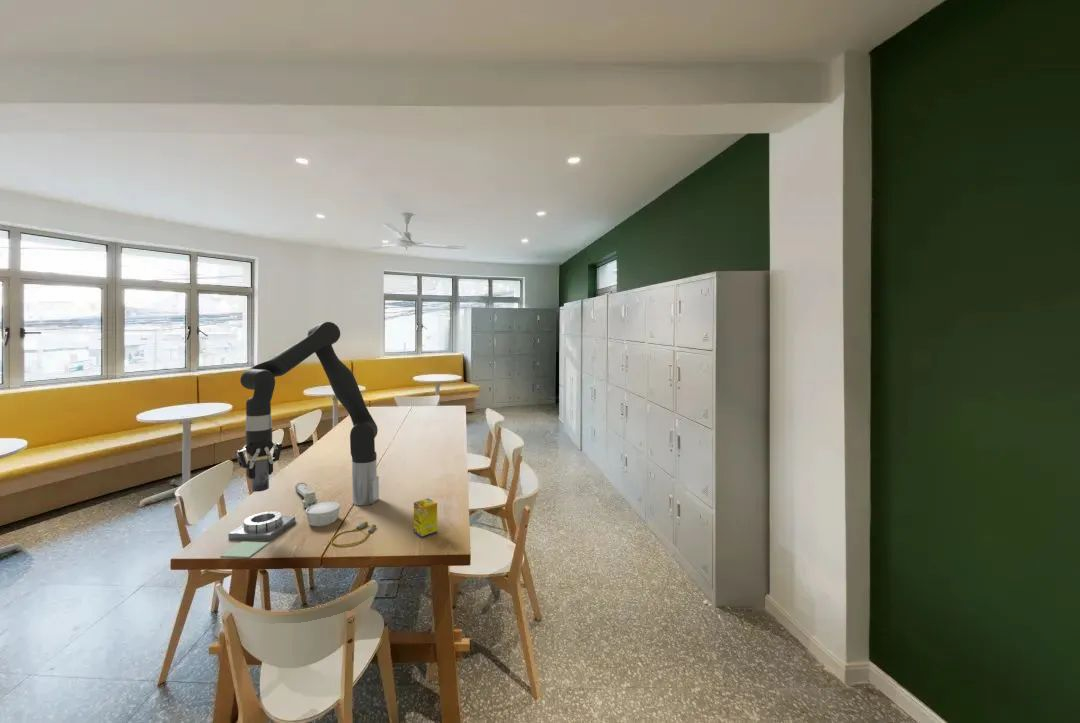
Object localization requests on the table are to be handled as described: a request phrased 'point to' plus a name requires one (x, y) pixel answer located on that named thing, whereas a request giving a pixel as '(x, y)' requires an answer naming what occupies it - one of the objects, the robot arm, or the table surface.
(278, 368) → the robot arm
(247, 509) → the table surface
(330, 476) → the table surface
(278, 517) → the chuck block
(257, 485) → the dark grey cylinder
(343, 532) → the extension cord
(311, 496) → the white stepped bar
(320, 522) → the ramekin
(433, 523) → the supplement box
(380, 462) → the table surface
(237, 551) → the mat
